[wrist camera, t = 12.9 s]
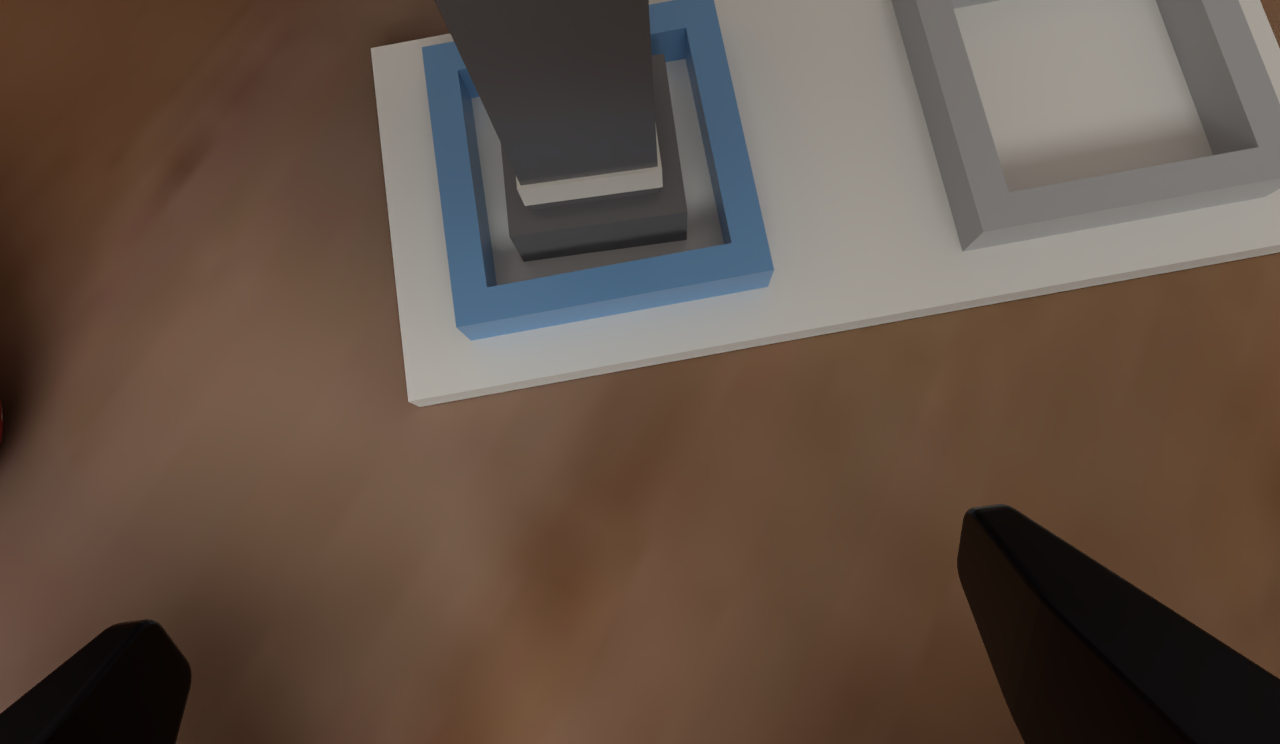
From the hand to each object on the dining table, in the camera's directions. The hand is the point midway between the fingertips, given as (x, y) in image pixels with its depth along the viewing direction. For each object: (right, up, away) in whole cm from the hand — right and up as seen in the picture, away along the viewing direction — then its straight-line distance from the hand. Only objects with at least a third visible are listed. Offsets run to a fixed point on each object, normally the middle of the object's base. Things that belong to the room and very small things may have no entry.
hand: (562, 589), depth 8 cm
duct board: (+7, +10, +16) cm, 19 cm away
